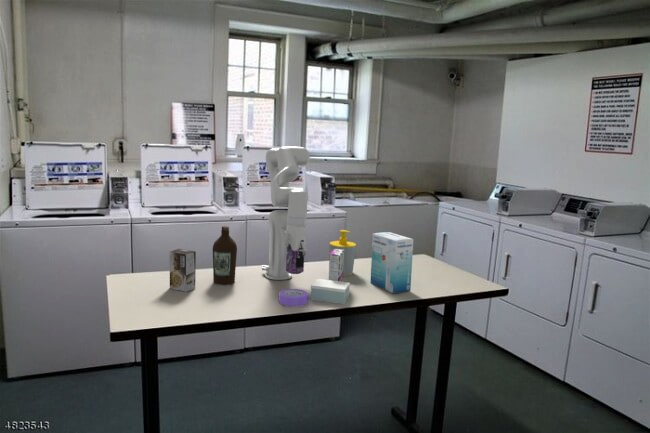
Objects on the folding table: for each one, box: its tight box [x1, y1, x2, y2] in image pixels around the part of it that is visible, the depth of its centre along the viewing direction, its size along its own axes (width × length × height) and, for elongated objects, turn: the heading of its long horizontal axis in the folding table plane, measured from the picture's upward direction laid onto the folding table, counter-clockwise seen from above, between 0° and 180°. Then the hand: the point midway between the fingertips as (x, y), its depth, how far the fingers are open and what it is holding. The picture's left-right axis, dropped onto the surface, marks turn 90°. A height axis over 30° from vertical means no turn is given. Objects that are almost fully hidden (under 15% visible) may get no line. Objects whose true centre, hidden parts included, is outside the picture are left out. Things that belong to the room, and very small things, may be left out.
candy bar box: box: [328, 249, 344, 282], centre depth 227 cm, size 11×5×16 cm, turn 168°
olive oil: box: [212, 225, 238, 286], centre depth 225 cm, size 11×11×25 cm
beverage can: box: [286, 243, 305, 275], centre depth 203 cm, size 7×7×12 cm
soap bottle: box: [329, 229, 357, 277], centre depth 251 cm, size 13×13×21 cm
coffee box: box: [168, 248, 197, 293], centre depth 214 cm, size 9×6×16 cm
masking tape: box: [278, 288, 309, 307], centre depth 206 cm, size 12×12×4 cm
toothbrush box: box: [370, 231, 414, 294], centre depth 231 cm, size 18×10×24 cm, turn 30°
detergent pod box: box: [310, 278, 351, 305], centre depth 213 cm, size 14×10×6 cm
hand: (295, 264), depth 204 cm, fingers closed on beverage can, 7 cm apart
